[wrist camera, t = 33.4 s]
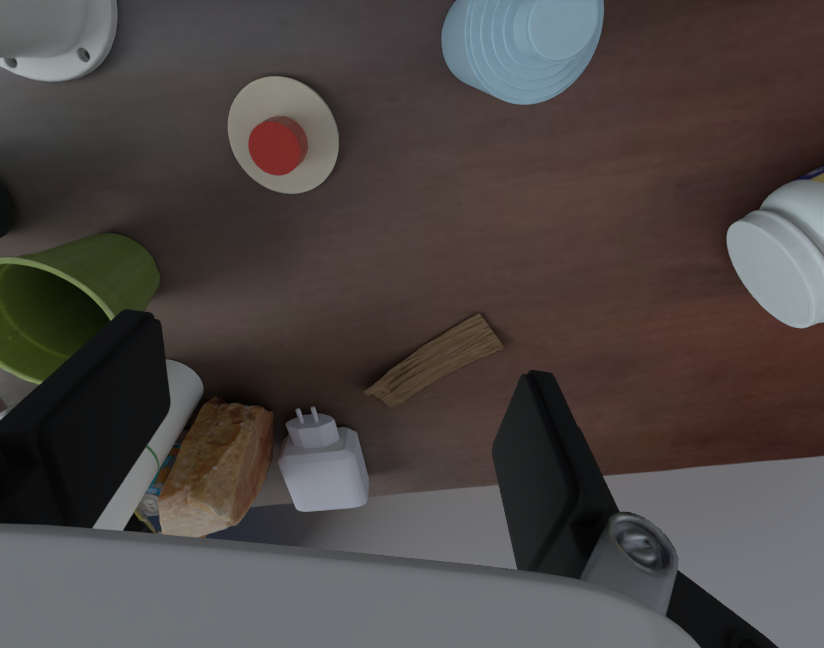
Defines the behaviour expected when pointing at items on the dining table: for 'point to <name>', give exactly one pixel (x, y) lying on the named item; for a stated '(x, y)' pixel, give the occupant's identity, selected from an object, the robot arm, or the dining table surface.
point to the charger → (323, 464)
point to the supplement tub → (785, 251)
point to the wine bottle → (5, 211)
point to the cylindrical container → (155, 446)
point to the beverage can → (161, 478)
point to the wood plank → (436, 360)
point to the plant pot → (68, 299)
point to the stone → (217, 469)
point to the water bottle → (521, 45)
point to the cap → (278, 145)
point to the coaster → (294, 103)
